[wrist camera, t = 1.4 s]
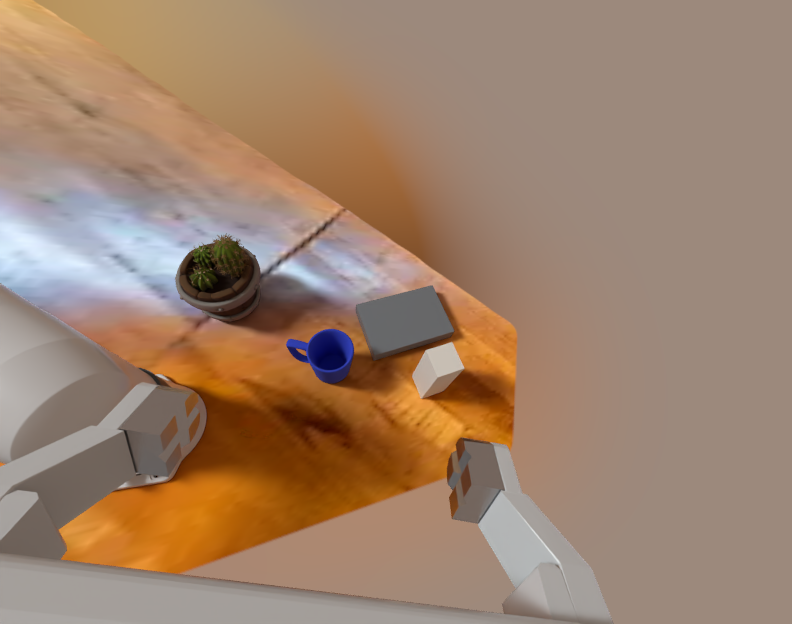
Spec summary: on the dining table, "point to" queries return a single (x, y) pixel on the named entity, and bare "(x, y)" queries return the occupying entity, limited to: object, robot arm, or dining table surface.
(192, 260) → the flowerpot
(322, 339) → the mug
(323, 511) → the dining table surface
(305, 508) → the dining table surface
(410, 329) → the block
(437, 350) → the block
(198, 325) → the dining table surface
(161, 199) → the dining table surface
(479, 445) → the robot arm
